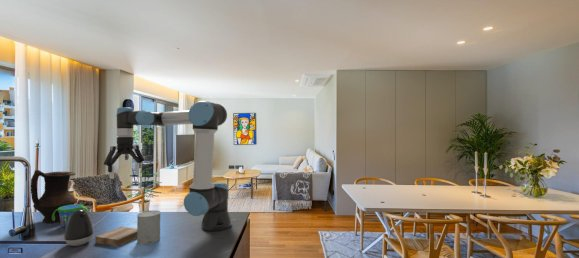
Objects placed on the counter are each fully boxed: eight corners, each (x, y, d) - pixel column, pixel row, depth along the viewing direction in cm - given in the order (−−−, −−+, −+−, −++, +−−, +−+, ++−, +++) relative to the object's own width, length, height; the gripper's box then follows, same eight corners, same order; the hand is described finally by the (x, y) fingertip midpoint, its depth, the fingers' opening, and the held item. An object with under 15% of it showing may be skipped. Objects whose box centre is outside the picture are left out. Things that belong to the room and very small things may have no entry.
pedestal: (142, 235, 128) (142, 229, 128) (117, 246, 115) (117, 239, 115) (121, 232, 132) (121, 226, 132) (95, 243, 119) (95, 236, 119)
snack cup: (92, 221, 149) (92, 203, 149) (82, 227, 139) (83, 208, 139) (59, 223, 145) (59, 205, 145) (47, 230, 135) (47, 210, 135)
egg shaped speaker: (69, 250, 111) (70, 214, 112) (60, 245, 117) (60, 210, 117) (97, 242, 120) (97, 208, 120) (87, 237, 126) (87, 205, 126)
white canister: (153, 244, 117) (153, 216, 118) (132, 244, 118) (132, 216, 118) (164, 236, 127) (164, 210, 127) (144, 236, 127) (144, 210, 127)
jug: (62, 213, 163) (62, 165, 163) (84, 216, 158) (85, 166, 158) (19, 225, 142) (19, 169, 143) (43, 228, 137) (43, 170, 138)
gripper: (142, 136, 153) (142, 172, 153) (95, 136, 131) (95, 179, 131) (151, 136, 150) (151, 173, 150) (104, 136, 128) (104, 180, 127)
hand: (125, 176), depth 140 cm, fingers open, 13 cm apart
